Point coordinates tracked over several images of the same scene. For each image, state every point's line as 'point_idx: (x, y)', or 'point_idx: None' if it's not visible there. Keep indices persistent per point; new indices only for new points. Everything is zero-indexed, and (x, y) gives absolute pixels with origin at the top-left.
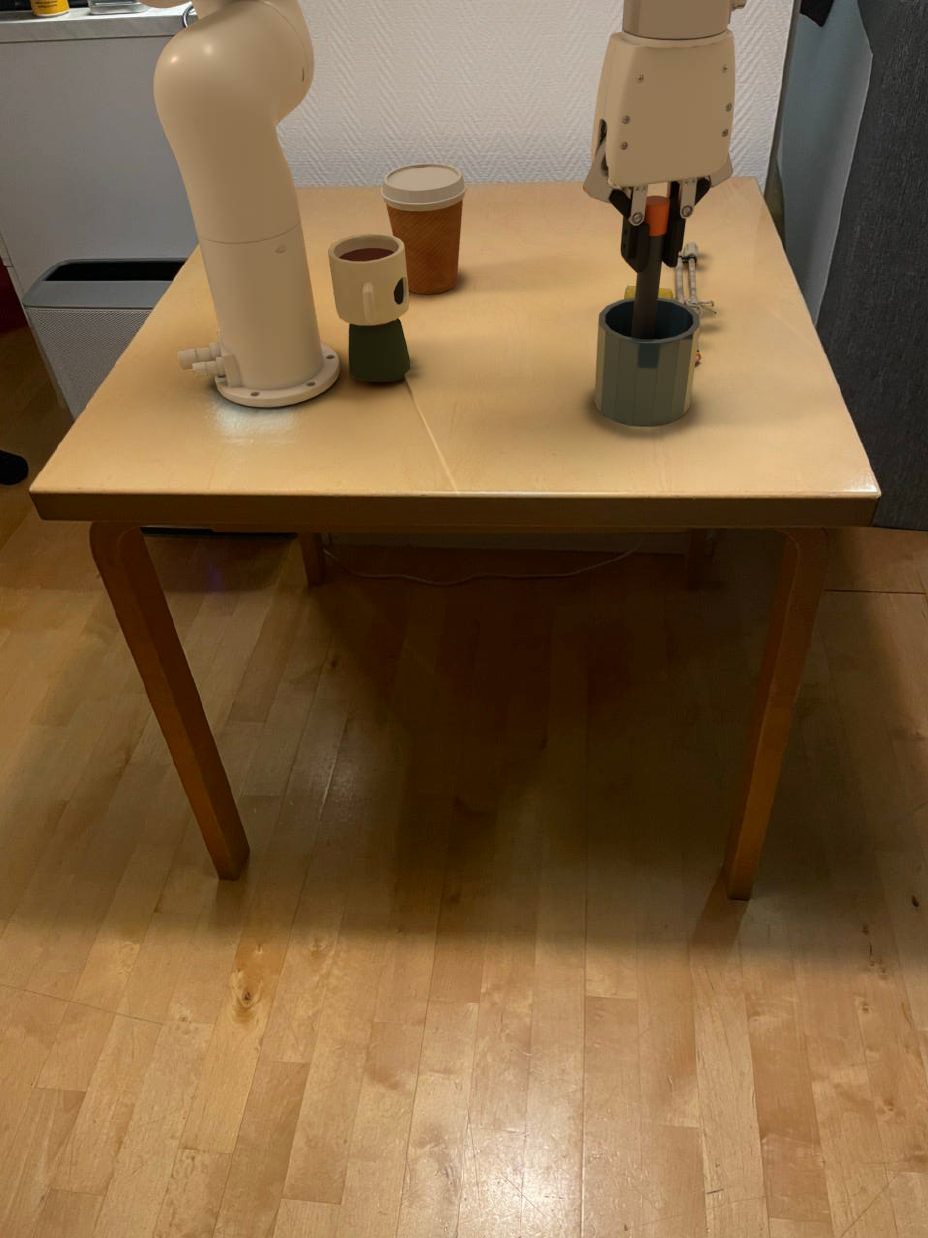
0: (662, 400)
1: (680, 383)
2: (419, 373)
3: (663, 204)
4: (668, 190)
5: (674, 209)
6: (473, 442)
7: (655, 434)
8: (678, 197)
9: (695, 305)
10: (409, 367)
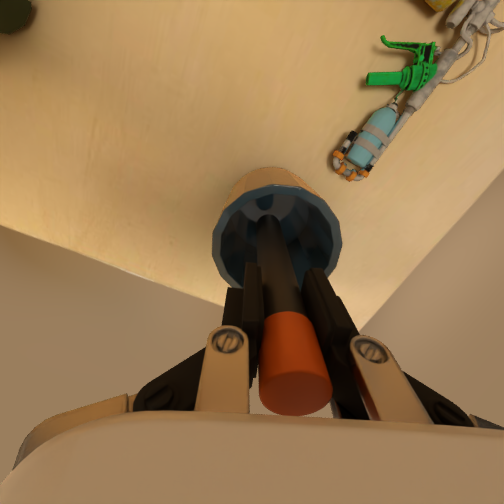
0: None
1: None
2: (51, 11)
3: (295, 415)
4: (360, 380)
5: None
6: (106, 198)
7: None
8: (360, 396)
9: (467, 40)
10: (27, 6)
